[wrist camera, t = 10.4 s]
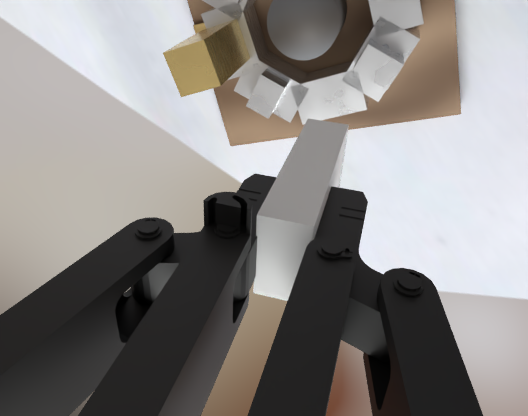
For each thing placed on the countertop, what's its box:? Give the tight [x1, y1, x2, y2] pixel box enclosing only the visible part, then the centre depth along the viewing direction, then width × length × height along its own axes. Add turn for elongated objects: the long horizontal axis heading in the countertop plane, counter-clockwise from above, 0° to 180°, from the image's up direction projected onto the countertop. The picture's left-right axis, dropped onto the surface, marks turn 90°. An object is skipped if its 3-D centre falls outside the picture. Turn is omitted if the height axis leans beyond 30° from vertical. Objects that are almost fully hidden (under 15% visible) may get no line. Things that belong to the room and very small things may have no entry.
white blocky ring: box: [163, 0, 424, 125], centre depth 33 cm, size 16×15×10 cm
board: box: [187, 0, 461, 146], centre depth 36 cm, size 20×20×6 cm
